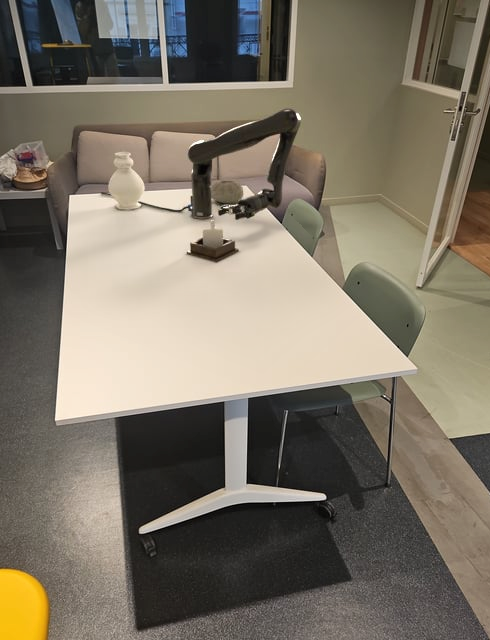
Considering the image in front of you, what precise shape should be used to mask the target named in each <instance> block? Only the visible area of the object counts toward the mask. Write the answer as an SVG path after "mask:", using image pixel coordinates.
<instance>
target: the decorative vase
mask: <svg viewBox="0 0 490 640" xmlns="http://www.w3.org/2000/svg"><path fill="white" fill-rule="evenodd" d="M131 155H132V154H131V152H129V151H119V152H115V153H114V157H116V158H114V160H113V165H114V166H115V167H116V168H117V169H116V170H115V172H114V173H113V174H112V175H111V177H110V179H109V181H108V186H107V187H108V189H107V190H108V193H110V194H111V195H112V196H111V195H110V196H111V197H112V198H113V199H114V200H115V201H116V202H117V203H116V205H115V208H117V209H118V210H123V211H128V210H137V209H140V208H141V207H142V204H140V203H138V201H141V199H142V197H143V195H144V193H145V189H146V187H145V183H144V181H143V179H142V178H141V176H140V175H139V174H138V173H137V172H136V171H135V170H134V169H133V168H132V167H133V166H134V160H133V158H131Z"/></svg>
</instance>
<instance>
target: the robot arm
mask: <svg viewBox="0 0 490 640" xmlns="http://www.w3.org/2000/svg"><path fill="white" fill-rule="evenodd" d="M301 123H302V119H301V116H300V114H299V112H297V110H295V109H293V108H291V107H290V108H289V107H288V108H287V107H286V108H284V109H281V110H279V111H278V112H275V113H273V114H271V115H269V116H267V117H265V118H263V119H259V120H255V121H251V122H248V123H245V124H242V125H239V126H237V127H234V128H232V129H230V130H228V131H226V132H223V133H222V134H220V135H218V136H217V137H215V138H212V139H210V140H202V139H201V140H198V141H196V142H194V143H192V144H191V145H190V146H189V148H188V151H187V152H188V153H187V158H188V160H189V161H190V162H191V163H192V170H191V173H190V178H191V179H190V180H191V181H190V182H191V195H190V204H187V205H186V206H183V207H182V208H181V209H172V208H167V207H162V206H157V205H153V204H149V203H146V202H143V201H141V200H139V201H138V203H140V204H141V205H144V206H147V207H150V208H154V209H158V210H163V211H169V212H173V213H182V212H183V211H185V210H186V209H188V210H187V211H188V212H190V216H191V217H193V218H194V219H198V220H207V219H211V218H212V217H213V204H212V203H213V199H212V194H211V187H212V173H213V160H214V159H215V158H216V159H217V158H218V157H221V156H225V155H229V154H234V153H237V152H240V151H244V150H246V149H249V148H252V147H254V146H256V145H258V144H260V143H261V142H262V141H264V140H266V139H267V138H269V137H273V136H277V135H279V138H278V143H277V146H276V148H275V152H274V153H273V156H272V159H271V161H270V165H269V168H268V173H267V176H266V177H267V178H266V181H267V183H268V184H270V185H272V188H273V189H270V188H262V189H260V191H258V193H256V194H254V195H250V196H247V197H245V198H244V197H243V198H242V199H241V200H239V201H237V202H236V204H232V203H225V204H222V205H221V206H220V209H219V210H217V215H218V216H219V217H222V216H223V215H229V216H230V215H235V216H234V219H235V220H236V221H238V220H240V219H247V220H248V219H249V220H250V219H251V218H253V217H255V216H256V214H258V213H259V212H262V211H264V210H266V209H267V208H268V207H270V208H273V209H277V208H279V206H281V204H282V201H283V181H284V177H285V174H286V169H287V166H288V161H289V157H290V153H291V150H292V147H293V144H294V142H295V139H296V138H297V137H296V136H297V134H298V132H299V129H300V126H301ZM100 194H101V195H105V196H106V195H107V196H111V197H112V195H111V194H110V192H104V191H101V192H100Z"/></svg>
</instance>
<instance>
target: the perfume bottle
mask: <svg viewBox="0 0 490 640" xmlns="http://www.w3.org/2000/svg"><path fill="white" fill-rule="evenodd" d="M215 224H216V223H215V219H211V220H210V227H204V228H202V238H203V245H205V246H208V247H212V248H217V247H219V246H221V245H223V238H224V228H222V227H216V225H215Z"/></svg>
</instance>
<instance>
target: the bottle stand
mask: <svg viewBox="0 0 490 640" xmlns="http://www.w3.org/2000/svg"><path fill="white" fill-rule="evenodd" d="M189 246H190V247H189V248H190V249H189V250H186V255H189V256H193V257H196V258H200V259H202V260H203V259H204V260H208V261H210V262H214V263H218V262H220V261H222V260H224V259H226V258H228V257H230V256H232V255H234V254H236V253H238V252H239V248H236V240H234V239H229V238H226V237H223V245H221V246H219V247H217V248H212V247H208V246H205V245H203V237H201V238H198V239H196V240H193V241H192V242H190V243H189Z"/></svg>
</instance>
